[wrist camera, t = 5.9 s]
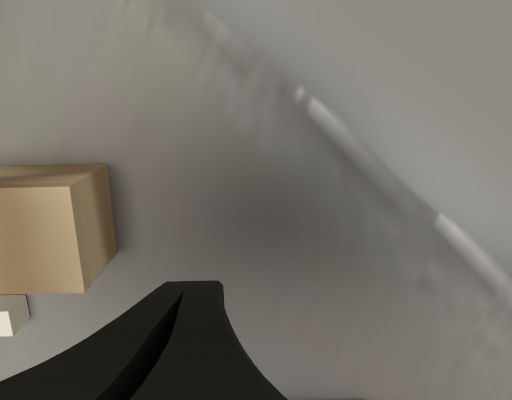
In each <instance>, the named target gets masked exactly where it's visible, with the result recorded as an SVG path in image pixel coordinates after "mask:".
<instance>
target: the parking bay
mask: <svg viewBox="0 0 512 400" xmlns="http://www.w3.org/2000/svg"><path fill="white" fill-rule="evenodd" d="M29 319H30V315H29V310H28V305H27V300H26V295H0V336H14V335H15V334H16V332H17V331H18V330H19V329H20V328H21V327H22V326H23V325H24V324H25V323H26V322H27V321H28V320H29Z"/></svg>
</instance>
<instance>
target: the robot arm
mask: <svg viewBox="0 0 512 400" xmlns="http://www.w3.org/2000/svg"><path fill="white" fill-rule="evenodd" d="M0 400H287V399H286V398H285V397H284V396H283V395H282V394H281V393H280V392H279V391H278V390H277V389H276V388H275V387H274V386H273V385H272V384H271V383H270V382H269V381H268V380H267V379H266V378H265V377H264V376H263V375H262V373H261V372H260V371H259V370H258V368H257V367H256V366H255V365H254V363H253V362H252V360H251V359H250V358H249V356H248V355H247V353H246V352H245V350H244V349H243V347H242V345H241V344H240V342H239V340H238V338H237V336H236V334H235V333H234V331H233V328H232V326H231V324H230V322H229V319H228V316H227V314H226V311H225V308H224V292H223V285H222V284H221V283H220V282H219V281H177V282H166V283H164V284H162V285H161V286H160V287H158V288H157V289H155V290H154V291H153V292H151V293H150V294H149V295H147V296H146V297H145V298H143V299H142V300H141V301H139V302H138V303H137V304H135V305H134V306H133V307H131V308H130V309H129V310H127V311H126V312H125V313H123V314H122V315H121V316H119V317H118V318H116V319H115V320H113V321H112V322H110V323H109V324H107V325H106V326H104V327H103V328H101V329H100V330H98V331H97V332H95V333H94V334H92V335H91V336H89V337H88V338H86V339H84V340H83V341H81V342H79V343H78V344H76V345H74V346H73V347H71V348H69V349H67V350H65V351H64V352H62V353H60V354H58V355H56V356H54V357H52V358H50V359H49V360H47V361H45V362H43V363H41V364H39V365H36V366H34V367H32V368H30V369H27V370H25V371H23V372H21V373H18V374H16V375H14V376H12V377H9V378H7V379H5V380H3V381H0Z"/></svg>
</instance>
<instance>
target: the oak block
mask: <svg viewBox="0 0 512 400" xmlns="http://www.w3.org/2000/svg"><path fill="white" fill-rule="evenodd" d="M117 252H118V251H117V243H116V235H115V226H114V218H113V210H112V202H111V193H110V185H109V177H108V169H107V163H103V164H61V165H18V166H0V294H55V293H85V292H86V291H87V289H88V288H89V287H90V286H91V284H92V283H93V282H94V281H95V279H96V278H97V277H98V276H99V274H100V273H101V272H102V271H103V269H104V268H105V267H106V266H107V264H108V263H109V262H110V261H111V259H112V258H113V257H114V256H115V254H116V253H117Z"/></svg>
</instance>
